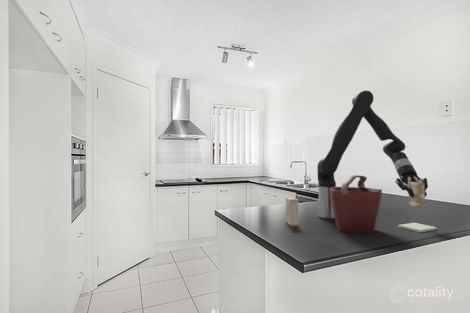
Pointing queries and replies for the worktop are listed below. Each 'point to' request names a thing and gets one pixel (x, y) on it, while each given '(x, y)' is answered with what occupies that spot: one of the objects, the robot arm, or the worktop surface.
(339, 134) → the robot arm
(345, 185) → the bucket
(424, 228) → the sage board
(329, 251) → the worktop surface
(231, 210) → the worktop surface
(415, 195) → the maple block
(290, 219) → the supplement box
